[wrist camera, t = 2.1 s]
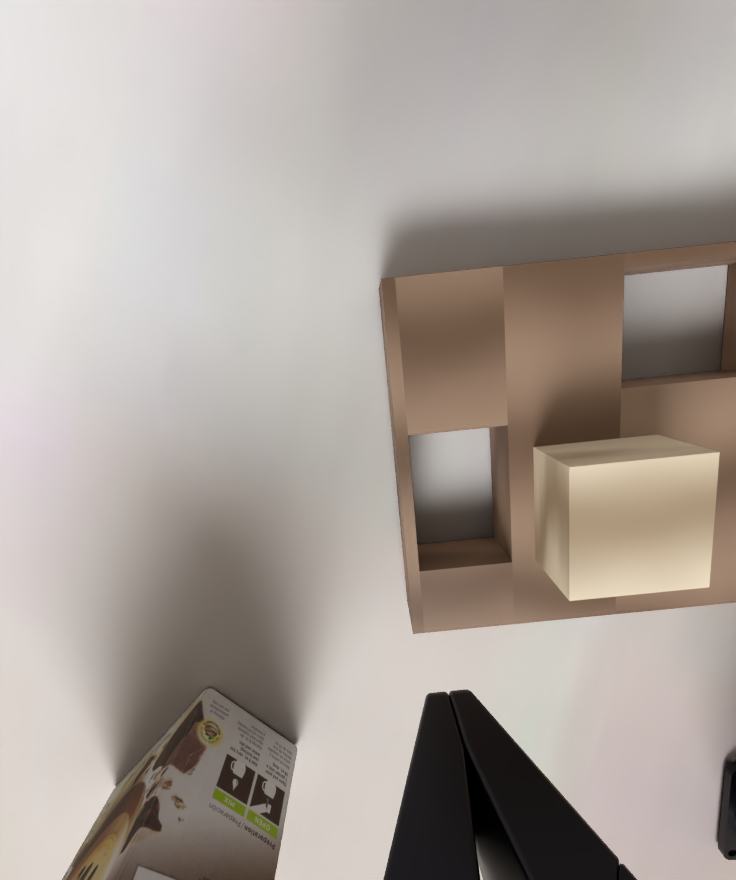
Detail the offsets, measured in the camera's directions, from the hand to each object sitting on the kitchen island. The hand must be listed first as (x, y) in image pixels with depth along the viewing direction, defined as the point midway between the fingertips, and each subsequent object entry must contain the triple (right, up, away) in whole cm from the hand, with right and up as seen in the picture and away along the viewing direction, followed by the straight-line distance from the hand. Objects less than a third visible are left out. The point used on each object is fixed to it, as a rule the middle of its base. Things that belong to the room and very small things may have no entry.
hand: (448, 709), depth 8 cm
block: (+8, +3, +9) cm, 12 cm away
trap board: (+12, +6, +11) cm, 17 cm away
